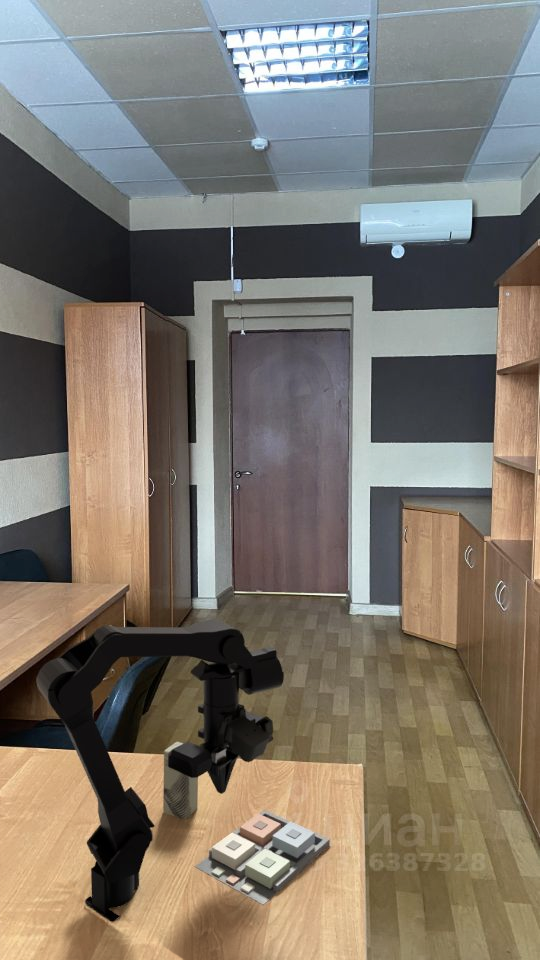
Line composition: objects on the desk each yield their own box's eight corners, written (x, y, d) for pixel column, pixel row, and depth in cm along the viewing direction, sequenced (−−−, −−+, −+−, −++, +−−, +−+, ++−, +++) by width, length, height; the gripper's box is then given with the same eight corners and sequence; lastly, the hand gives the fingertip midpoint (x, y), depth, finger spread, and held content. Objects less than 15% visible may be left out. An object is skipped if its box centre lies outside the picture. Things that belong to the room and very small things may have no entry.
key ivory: (235, 870, 109) (235, 858, 109) (211, 857, 112) (211, 846, 112) (255, 854, 113) (255, 843, 113) (232, 842, 116) (232, 831, 116)
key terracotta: (262, 848, 115) (262, 837, 114) (239, 836, 118) (239, 826, 117) (280, 833, 119) (280, 823, 118) (258, 823, 122) (258, 812, 121)
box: (162, 818, 126) (161, 750, 124) (176, 806, 129) (175, 740, 128) (186, 826, 123) (185, 757, 122) (199, 813, 127) (199, 746, 126)
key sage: (270, 888, 105) (270, 876, 105) (245, 875, 108) (245, 863, 108) (289, 871, 109) (289, 860, 109) (264, 859, 112) (264, 847, 112)
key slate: (297, 858, 110) (297, 846, 110) (272, 846, 113) (272, 835, 113) (314, 842, 114) (314, 831, 114) (290, 831, 117) (290, 820, 117)
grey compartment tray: (263, 912, 102) (263, 898, 102) (194, 873, 111) (194, 860, 110) (329, 851, 116) (329, 839, 116) (264, 821, 125) (264, 809, 125)
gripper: (219, 735, 99) (219, 838, 100) (295, 694, 113) (295, 785, 115) (165, 714, 106) (166, 811, 107) (244, 678, 120) (243, 763, 122)
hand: (221, 792), depth 113 cm, fingers closed
